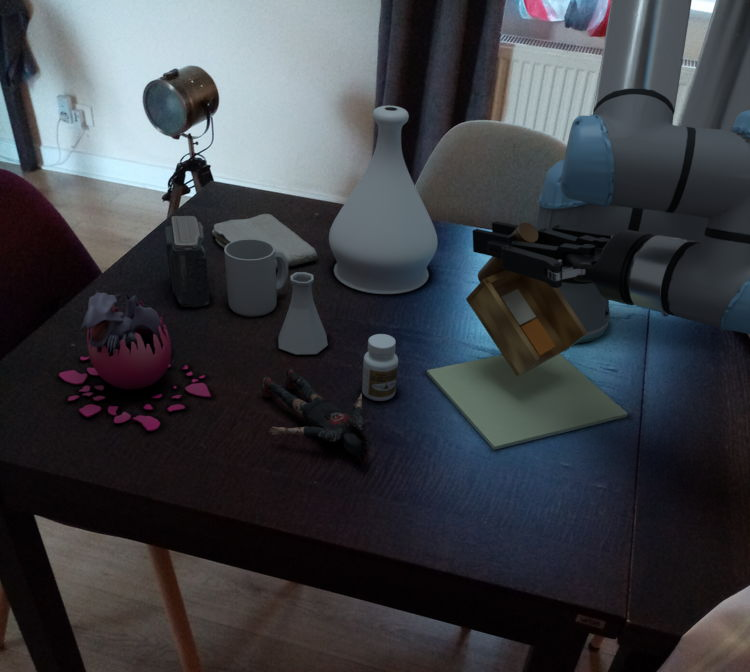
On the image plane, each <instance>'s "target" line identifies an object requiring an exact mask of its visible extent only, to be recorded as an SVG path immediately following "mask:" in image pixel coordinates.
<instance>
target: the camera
mask: <svg viewBox="0 0 750 672" xmlns="http://www.w3.org/2000/svg"><path fill="white" fill-rule="evenodd" d="M164 238H165V239H164V240H165V247H166V248H165V249H166V256H167V257H166V258H167V266H168V273H169V275H170V276H169V278H170V283H171V285H172V286H171V287H172V293H173V295H174V296H175V297H176V301H177V302H178V304H179V305H180V307H181V308H183V307H191V308H192V309H193V308H201V307H205V306H208V305H209V304H210V285H209V274H208V261H207V260H208V259H207V254H206V244H205V236H204V226H203V224H202V223H201V222H200V221H198V219H197V217H196V216H194V215H175V216H174V215H173V216H171V224H170V225H167V226H164Z"/></svg>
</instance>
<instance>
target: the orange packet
mask: <svg viewBox="0 0 750 672" xmlns="http://www.w3.org/2000/svg"><path fill="white" fill-rule="evenodd" d="M520 328H521V330H522V331H523V333H524V334H525V336H526V337H527V339H528V340H529V342H530V343H531V345H532V346H533V348H534V349H535V351H536V352H537V354H538V355H539V357H540V356H542V355H544V354H546V353H548V352H550V351H551V350H552V349H554V348H555V347H556V346H555V344H554V343H553V341H552V340H551V338H550V337H549V335H548V334H547V332H546V331H545V329H544V328H543V326H542V325H541V323H540V322H539V320H538V319H535V320H533V321H531V322H529V323H527V324H525V325H523V326H521V327H520Z"/></svg>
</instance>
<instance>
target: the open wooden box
mask: <svg viewBox="0 0 750 672" xmlns="http://www.w3.org/2000/svg"><path fill="white" fill-rule="evenodd" d="M535 227H536V226H534V225H533V224H531V223H529V222H526V221H525V222H524V221H523V222H520V223H519V225H518V227H517V228H516V229H515V231H514V232H513V233H512V234H516V241H522V242H529V243H535V242H536V241H537V240H538V232H537V230H536V228H535ZM477 280H478V282H479V283H478V285H477V286H476V287H475V288H474V289H473V290H472V291H471V292H470V293H469V295H468V296H467V297H466V298H465V300H466V302H467V304H468V305H469V306H470V308H471V309H472V311H473V313H474V314H475V316H476V317H477V318H478V320H479V322H480V323H481V325H482V326H483V328H484V329H485V331H486V332H487V334H488V335H489V337H490V339H491V340H492V341H493V343H494V344H495V346H496V348H497V350H498V351H499V352H500V355H503V357H504V358H505V360H506V361H507V363H508V364H509V366H510V367H511V369H512V370H513V372H514V373H515V375H516V376H517V377H518V376H520V375H522V374H524V373H525V372H527V371H529V370H531V369H533V368H535V367H536V366H538V365H540V364H542V363H544V362H546V361H548V360H549V359H551V358H553V357H555V356H557V355H559V354H562V353H564V352H566V351H568V350H569V349H570V348H572V347H573V346H574V345H575V344H577V343H576V342H578V341H579V340H580V339H581V338H582V337H584V336H585V335H586V334H587V333H588V332H587V331H586V329H585V328H584V326H583V325H582V323H581V322H580V320H579V319H578V317H577V316H576V314H575V313H574V311H573V310H572V308H571V307H570V305H569V304H568V302H567V301H566V299H565V298H564V296H563V295H562V293H561V292H560V290H559V289H558V288H553V287H551V286H549V285H548V284H547V283H545V282H543V281H540V280H536V279H533V278H530V277H527V276H524V275H521V274H517V273H514V272H511V271H508V270H505V269H502V259H501V258H497V257H493V256H490V258H489V259H488V260H487V261H486V263H485V264H484V265H483V266H482V267H481V268H480V270H479V271H478V273H477ZM516 289H518V290H519V291H520V293H521V294H522V296H523V298H524V299H525V301H526V302H527V304H528V305H529V307H530V308H531V310H532V311H533V313H534V314H535V316H536V318H535V319H538V320H539V322H540V323H541V325H542V326H543V328H544V329H545V331H546V332H547V334H548V335H549V337H550V338H551V340H552V341H553V343H554V344H555V346H556V347H555V348H554V349H552V350H551V351H550V352H548V353H546V354H544V355H542V356H540V357H539V355H538V354H537V352H536V351H535V349H534V348H533V346H532V345H531V343H530V342H529V340H528V339H527V337H526V336H525V334H524V333H523V331H522V330H521V328H520V327H519V325H518V324H517V322H516V321H515V319H514V318H513V316H512V315H511V313H510V311H509V310H508V308H507V307H506V305H505V304H504V302H503V301H502V299H501V298H500V297H501V296H504V295H506V294H508V293H510V292H512V291H514V290H516ZM535 319H533V320H535ZM533 320H532V321H533Z"/></svg>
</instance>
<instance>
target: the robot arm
mask: <svg viewBox="0 0 750 672" xmlns="http://www.w3.org/2000/svg"><path fill="white" fill-rule="evenodd" d="M691 8H692V0H610V6H609V13H608V19H607V25H606V31H605V37H604V43H603V49H602V55H601V61H600V67H599V72H598V73H599V74H598V79H597V84H596V85H597V86H596V91H595V98H594V102H593V103H594V104H593V110H592V114H590V115H578V116H576V117H575V118H574V120H573V121H572V123H571V126H570V130H569V134H568V139H567V144H566V149H565V155H564V158H563V159H561V160H559V161H558V162H556V163H554V165H552V166H551V167H550V168H549V169H548V171H547V173H546V175H545V178H544V182H543V186H542V191H541V193H540V195H539V197H538V205H539V207H538V212H537V218H536V222H535V226H534V227H535V228H536V230H537V232H538V240H537V241H536V242H535V243H529V242H522V241H516V234H512V233H513V232H514V231H515V229H516V228H517V227H518V226H519V225H517V224H512V223H507V222H502V221H496V220H495V221H493V222H491V231H490V230H485V229H482V228H481V229H480V228H475V229H473V230H472V247H473V248H472V252H473V253H476V254H481V255H485V256H489V257H492V256H493V257H497V258H501V259H502V269H505V270H508V271H511V272H514V273H517V274H521V275H524V276H527V277H530V278H533V279H536V280H540V281H543V282H545V283H547V284H548V285H549V286H551V287H553V288H558V289H559V290H560V292H561V293H562V295H563V296H564V298H565V299H566V301H567V302H568V304H569V305H570V307H571V308H572V310H573V311H574V313H575V314H576V316H577V317H578V319H579V320H580V322H581V323H582V325H583V326H584V328H585V329H586V331H587V332H588V333H587V334H586V335H585V336H584V337H582V338H581V339H580V340H579V341H578V342H576V343H575V344H583V343H589V342H591V341H595V340H596V339H599V338H601V337H602V336H603V335H604V334H605V333H606V331H607V328H608V325H609V321H610V317H611V312H610V310H611V309H610V301H612V302H616V303H618V304H619V303H620V304H624V305H627V306H636V307H638V308H642V309H646V310H649V311H653V312H657V313H660V315H661V317H666V318H667V317H670V316H674V317H676V318H680V319H684V320H687V321H692V322H694V323H695V322H696V323H699V324H702V325H707V326H711V327H714V328H717V329H721V330H722V331H725V332H728V331H730V332H738V333H742V334H747V335H750V0H715V3H714V6H713V8H712V13H711V16H710V19H709V23H708V27H707V30H706V32H705V36H704V39H703V42H702V46H701V49H700V53H699V56H698V60H697V62H696V66H695V68H694V69H695V70H694V74H693V76H692V80H691V83H690V86H689V90H688V93H687V96H686V99H685V103H684V107H683V109H682V113H681V116H680V119H679V123H678V125H675V124H674V115H675V112H676V105H677V99H678V93H679V87H680V80H681V73H682V66H683V59H684V53H685V46H686V40H687V35H688V26H689V20H690V15H691Z"/></svg>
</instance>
